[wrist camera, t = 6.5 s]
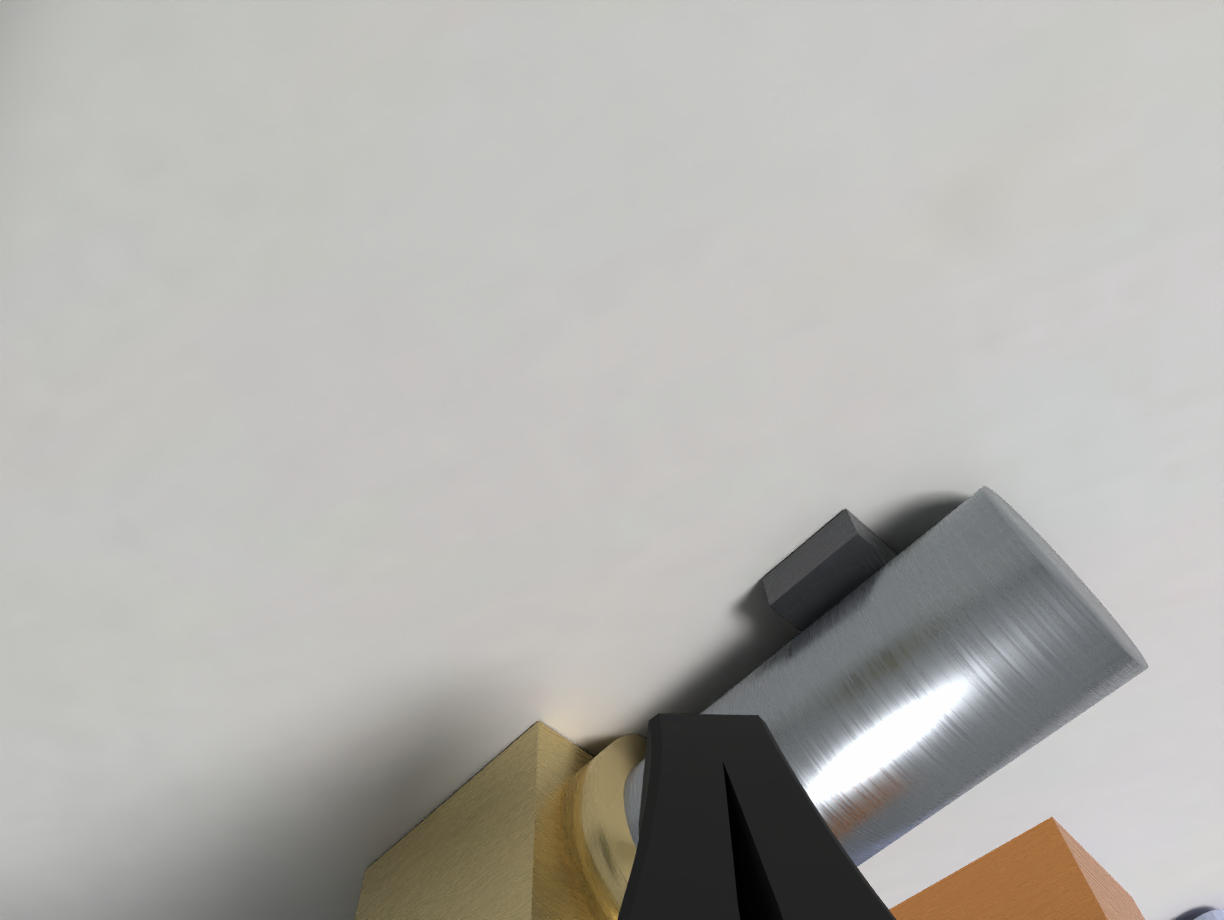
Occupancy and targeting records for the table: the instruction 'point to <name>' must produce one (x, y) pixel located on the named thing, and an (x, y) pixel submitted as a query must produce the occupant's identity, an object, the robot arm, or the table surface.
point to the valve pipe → (800, 718)
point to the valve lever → (1026, 885)
